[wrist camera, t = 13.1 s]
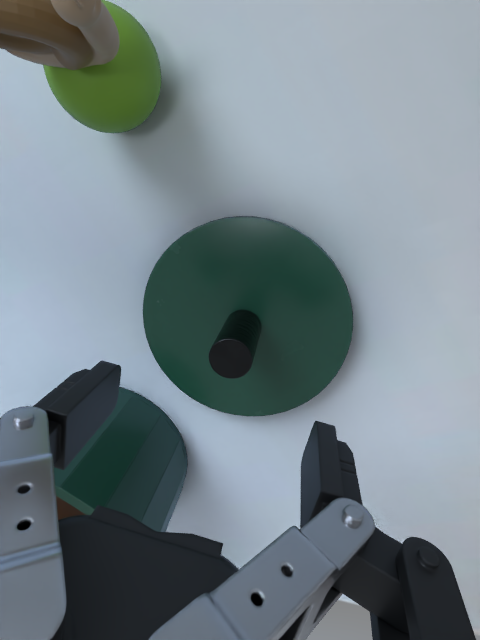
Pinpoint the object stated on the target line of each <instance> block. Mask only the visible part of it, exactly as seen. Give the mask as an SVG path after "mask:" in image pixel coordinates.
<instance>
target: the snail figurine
mask: <svg viewBox="0 0 480 640" xmlns="http://www.w3.org/2000/svg"><path fill="white" fill-rule="evenodd" d="M0 48H1V49H5V50H7V51H8V52H9V53H11V54H13V55H15V56H17V57H20V58H22V59H25V60H28V61H31V62H34V63H38V64H42V65H43V66H44V71H45V75H46V78H47V81H48V83H49V86H50V88H51V90H52V92H53V94H54V95H55V97H56V99H57V100H58V101H59V103H60V104H61V105H62V107H63V108H64V109H65V110H66V111H67V112H68V113H69V114H70V115H71V116H72V117H73V118H75V119H76V120H77V121H79V122H80V123H82V124H83V125H85V126H87V127H89V128H91V129H94V130H97V131H100V132H105V133H121V132H126V131H129V130H131V129H134V128H136V127H137V126H139V125H140V124H142V123H143V122H144V121H145V120H146V119H147V118H148V117H149V115H150V114H151V113H152V111H153V109H154V108H155V106H156V103H157V101H158V97H159V94H160V88H161V70H160V64H159V59H158V56H157V53H156V50H155V47H154V45H153V43H152V41H151V39H150V37H149V36H148V34H147V32H146V31H145V30H144V28H143V27H142V26H141V24H140V23H139V22H138V21H137V20H136V19H135V18H134V17H133V16H132V15H131V14H129V13H128V12H127V11H125V10H124V9H122V8H121V7H119V6H117V5H115V4H113V3H111V2H108V1H105V0H0Z"/></svg>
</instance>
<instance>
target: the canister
mask: <svg viewBox="0 0 480 640" xmlns="http://www.w3.org/2000/svg"><path fill="white" fill-rule="evenodd" d="M186 473H187V453H186V448H185V445H184V442H183V439H182V437H181V435H180V433H179V431H178V430H177V428H176V427H175V425H174V424H173V422H172V421H171V420H170V419H169V417H168V416H167V415H166V414H165V413H164V412H163V411H162V410H161V409H160V408H158V407H157V406H156V405H155V404H153V403H152V402H151V401H149V400H147V399H146V398H144V397H142V396H141V395H139V394H136V393H134V392H132V391H130V390H127V389H124V388H121V387H119V394H118V401H117V404H116V406H115V409H114V410H113V412H112V413H111V415H110V416H109V417H108V418H107V419H106V421H105V422H104V423H103V424H102V425H101V427H100V428H99V429H98V430H97V431H96V433H95V434H94V435H93V436H92V437H91V438H90V440H89V441H88V442H87V443H86V444H85V446H84V447H83V448H82V449H81V450H80V452H79V453H78V454H77V455H76V456H75V458H74V459H73V460H72V461H71V462H70V464H69V465H68V466H67V467H66V468H65V470H61V469H58V468H55V467H54V477H55V488H56V496H57V497H59V498H61V499H62V500H64V501H65V502H67V503H68V504H70V505H72V506H73V507H75V508H76V509H78V510H79V511H81V512H83V513H84V514H86V515H91V514H92V513H93V511H94V510H95V508H96V506H97V505H100V506H103V507H107V508H110V509H113V510H116V511H119V512H123V513H126V514H129V515H130V516H132V517H133V518H135V519H137V520H138V521H140V522H141V523H143V524H145V525H146V526H148V527H149V528H151V529H153V530H154V531H157V532H166V529H167V527H168V524H169V521H170V519H171V516H172V514H173V511H174V509H175V506H176V503H177V501H178V498H179V496H180V493H181V491H182V488H183V483H184V479H185V476H186Z"/></svg>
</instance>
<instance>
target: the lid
mask: <svg viewBox="0 0 480 640" xmlns="http://www.w3.org/2000/svg"><path fill="white" fill-rule="evenodd" d="M143 320H144V328H145V333H146V338H147V340H148V343H149V346H150V349H151V351H152V353H153V355H154V357H155V359H156V361H157V363H158V364H159V366H160V367H161V369H162V370H163V372H164V373H165V374H166V375H167V377H168V378H169V379H170V380H171V381H172V382H173V383H174V384H175V385H176V386H177V387H178V388H179V389H180V390H182V391H183V392H184V393H186V394H187V395H188V396H189V397H191V398H193V399H194V400H196V401H198V402H199V403H201V404H203V405H206V406H208V407H210V408H212V409H215V410H218V411H221V412H225V413H229V414H234V415H242V416H265V415H273V414H277V413H281V412H285V411H288V410H290V409H293V408H296V407H298V406H300V405H302V404H304V403H305V402H307V401H309V400H310V399H312V398H313V397H315V396H316V395H317V394H319V393H320V392H321V391H322V390H323V389H324V388H325V387H326V386H327V385H328V384H329V383H330V382H331V381H332V379H333V378H334V377H335V376H336V374H337V373H338V371H339V369H340V368H341V366H342V364H343V362H344V360H345V358H346V356H347V353H348V350H349V346H350V343H351V338H352V330H353V312H352V306H351V299H350V296H349V293H348V290H347V287H346V284H345V282H344V280H343V278H342V276H341V274H340V272H339V270H338V268H337V267H336V265H335V264H334V262H333V261H332V259H331V258H330V257H329V256H328V255H327V254H326V253H325V251H324V250H323V249H322V248H321V247H320V246H319V245H317V244H316V243H315V242H314V241H313V240H312V239H310V238H309V237H307V236H306V235H304V234H303V233H301V232H300V231H298V230H296V229H294V228H292V227H290V226H288V225H285V224H283V223H280V222H277V221H274V220H270V219H265V218H259V217H247V216H238V217H228V218H222V219H218V220H214V221H211V222H208V223H206V224H203V225H201V226H198V227H196V228H194V229H192V230H191V231H189V232H187V233H186V234H184V235H183V236H181V237H180V238H179V239H178V240H176V241H175V242H174V243H173V244H172V245H171V246H170V247H169V248H168V249H167V250H166V251H165V252H164V253H163V255H162V256H161V258H160V259H159V260H158V262H157V263H156V265H155V267H154V269H153V271H152V273H151V275H150V277H149V280H148V283H147V286H146V290H145V295H144V302H143Z"/></svg>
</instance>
